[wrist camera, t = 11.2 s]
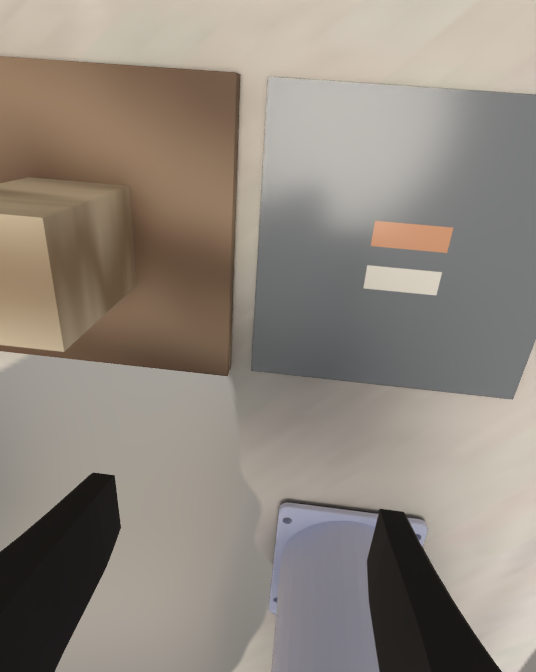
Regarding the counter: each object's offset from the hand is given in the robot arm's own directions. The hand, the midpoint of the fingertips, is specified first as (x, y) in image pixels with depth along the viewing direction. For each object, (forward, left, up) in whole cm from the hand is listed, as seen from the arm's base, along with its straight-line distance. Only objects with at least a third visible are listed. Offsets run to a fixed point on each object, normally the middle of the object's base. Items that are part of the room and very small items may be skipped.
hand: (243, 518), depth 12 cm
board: (+5, +8, -9) cm, 13 cm away
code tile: (+5, -5, -9) cm, 12 cm away
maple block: (+5, +8, -9) cm, 13 cm away
